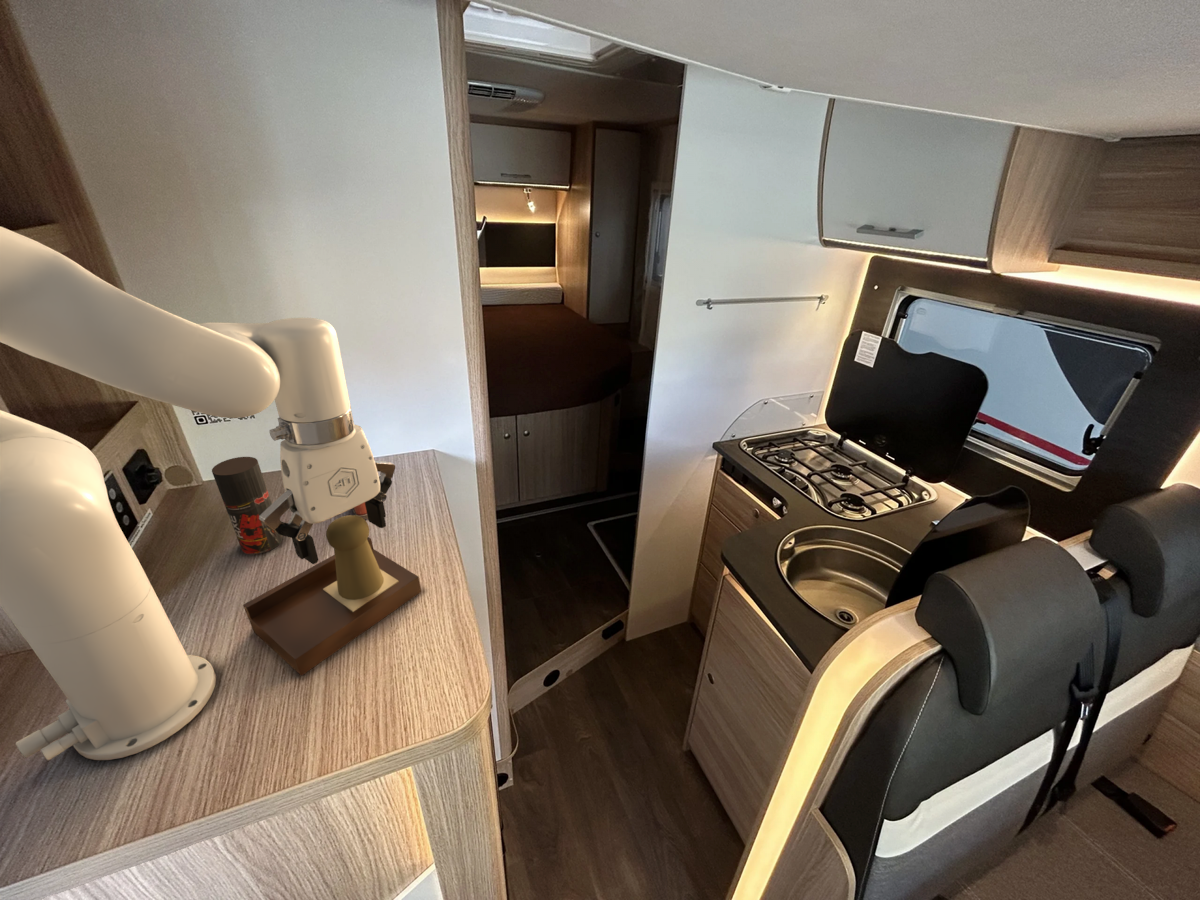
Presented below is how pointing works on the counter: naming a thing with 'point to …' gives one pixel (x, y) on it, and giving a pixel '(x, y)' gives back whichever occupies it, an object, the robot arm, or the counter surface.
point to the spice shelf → (324, 611)
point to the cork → (354, 558)
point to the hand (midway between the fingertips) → (345, 540)
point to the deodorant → (246, 503)
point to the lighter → (360, 511)
